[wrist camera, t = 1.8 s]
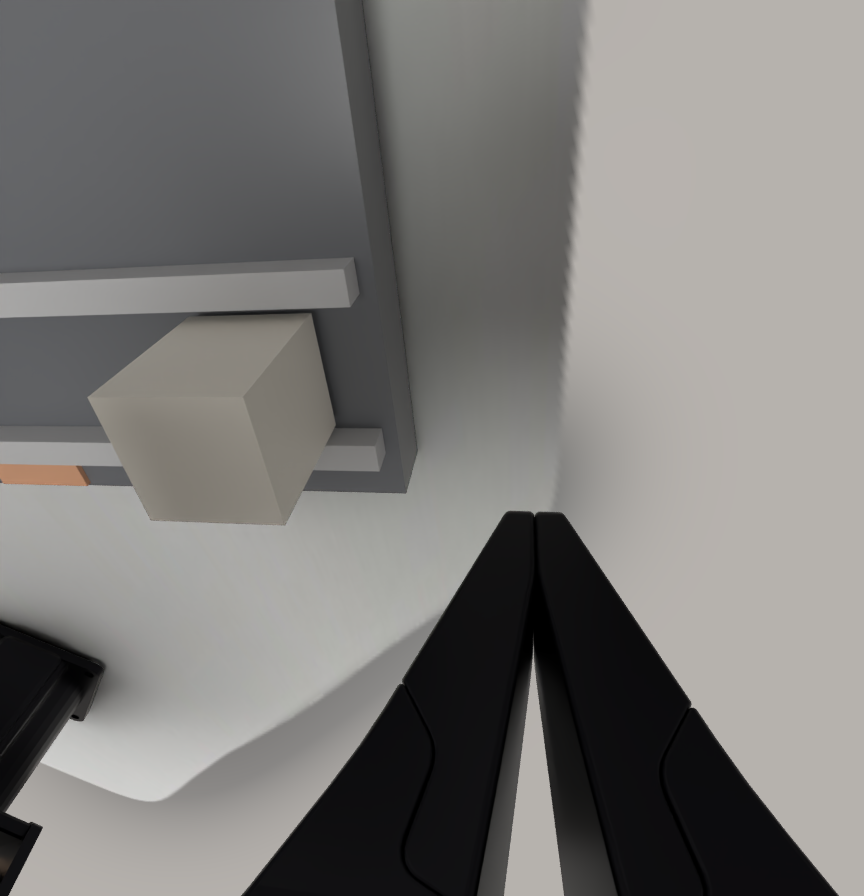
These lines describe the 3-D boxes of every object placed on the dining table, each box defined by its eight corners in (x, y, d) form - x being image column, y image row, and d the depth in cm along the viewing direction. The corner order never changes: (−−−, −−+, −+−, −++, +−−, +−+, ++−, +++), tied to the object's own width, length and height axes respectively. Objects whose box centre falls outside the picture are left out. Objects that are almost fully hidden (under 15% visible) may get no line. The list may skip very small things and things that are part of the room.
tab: (335, 424, 14) (285, 525, 11) (227, 424, 15) (151, 520, 12) (311, 313, 12) (242, 397, 9) (188, 316, 13) (86, 397, 10)
